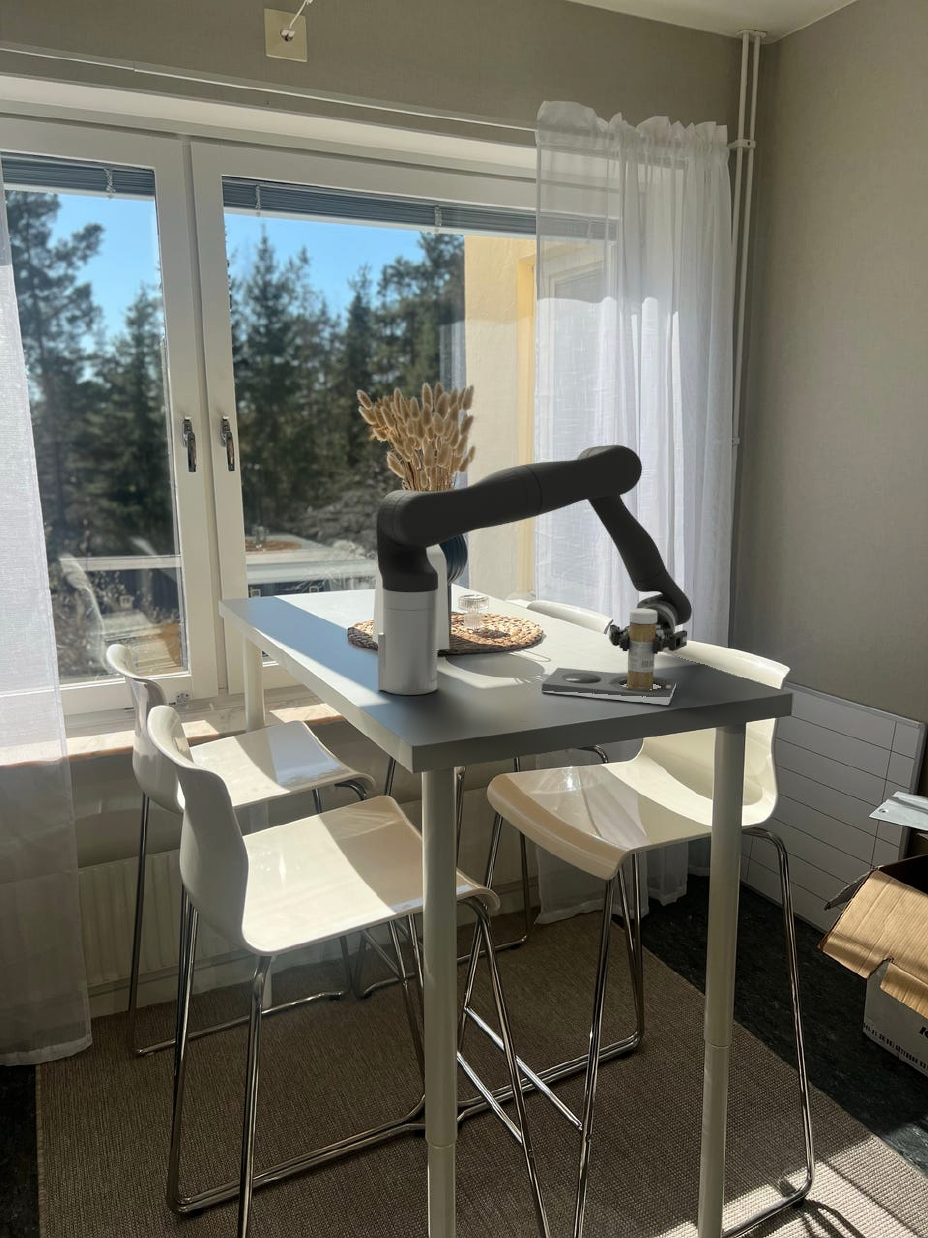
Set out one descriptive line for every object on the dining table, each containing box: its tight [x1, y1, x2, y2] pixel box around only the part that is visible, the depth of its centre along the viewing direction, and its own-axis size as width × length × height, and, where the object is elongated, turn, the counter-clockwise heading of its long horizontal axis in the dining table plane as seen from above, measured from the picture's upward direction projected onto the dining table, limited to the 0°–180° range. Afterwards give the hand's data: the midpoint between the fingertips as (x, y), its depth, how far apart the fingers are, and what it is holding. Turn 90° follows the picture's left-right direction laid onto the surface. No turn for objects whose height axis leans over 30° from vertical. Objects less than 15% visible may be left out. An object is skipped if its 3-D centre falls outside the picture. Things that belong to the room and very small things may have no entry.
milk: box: [371, 544, 450, 650], centre depth 183 cm, size 12×12×26 cm
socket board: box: [541, 667, 678, 697], centre depth 155 cm, size 21×12×2 cm, turn 71°
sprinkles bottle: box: [626, 608, 657, 690], centre depth 152 cm, size 5×5×13 cm
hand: (640, 646), depth 150 cm, fingers closed on sprinkles bottle, 4 cm apart
